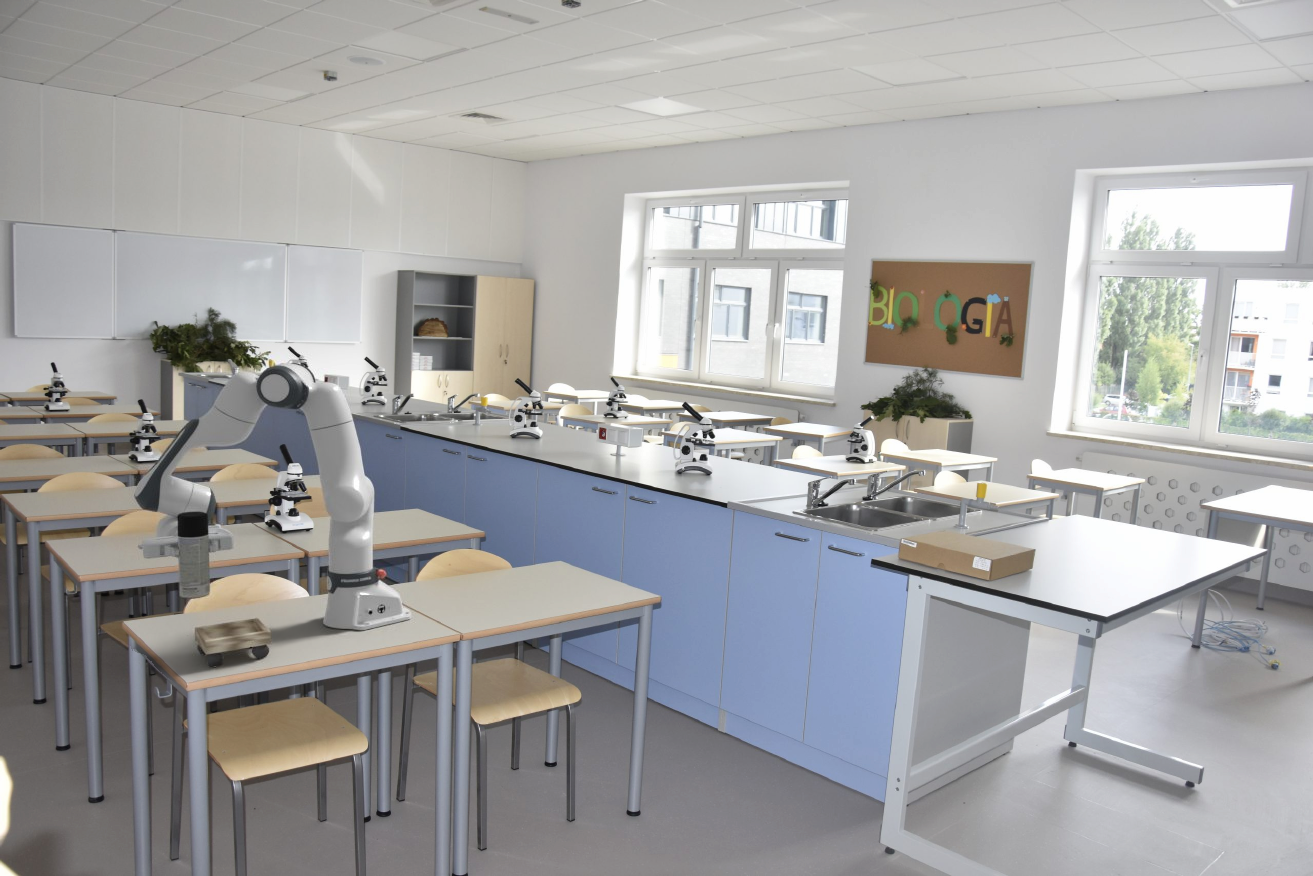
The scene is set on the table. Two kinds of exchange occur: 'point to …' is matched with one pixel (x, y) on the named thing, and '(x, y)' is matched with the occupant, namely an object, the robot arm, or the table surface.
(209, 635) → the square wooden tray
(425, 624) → the table surface
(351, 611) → the robot arm
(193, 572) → the spray can
